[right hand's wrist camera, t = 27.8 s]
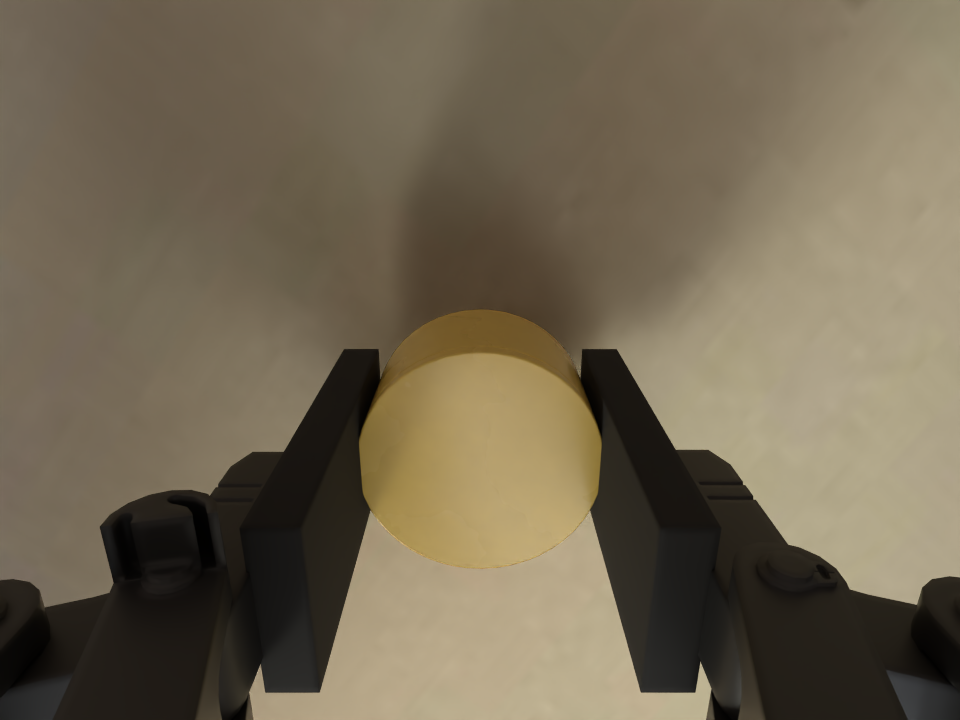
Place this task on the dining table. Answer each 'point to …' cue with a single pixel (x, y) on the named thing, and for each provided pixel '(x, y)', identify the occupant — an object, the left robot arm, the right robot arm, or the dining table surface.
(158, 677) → the right robot arm
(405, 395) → the cap
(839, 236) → the dining table surface
